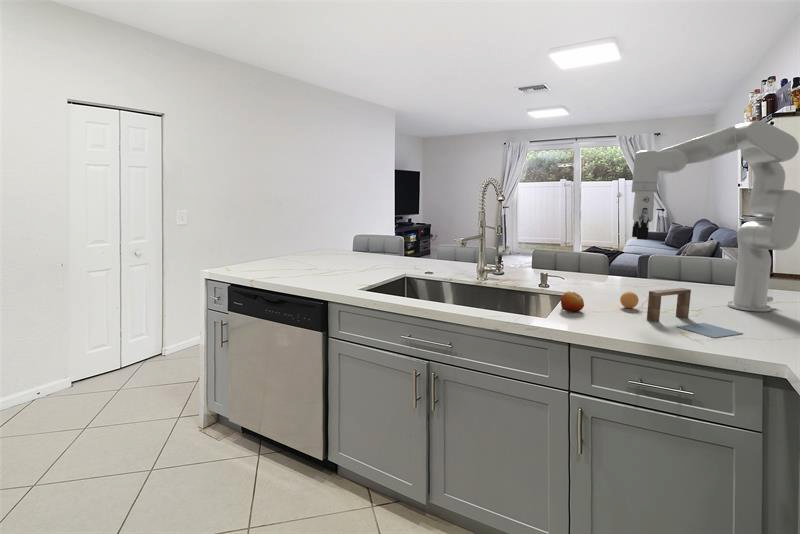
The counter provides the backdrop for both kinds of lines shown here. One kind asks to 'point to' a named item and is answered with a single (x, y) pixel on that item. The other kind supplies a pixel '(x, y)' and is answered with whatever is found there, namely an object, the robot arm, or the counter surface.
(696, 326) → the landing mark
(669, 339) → the counter surface
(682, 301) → the bridge
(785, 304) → the counter surface
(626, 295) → the ball
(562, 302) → the fruit
